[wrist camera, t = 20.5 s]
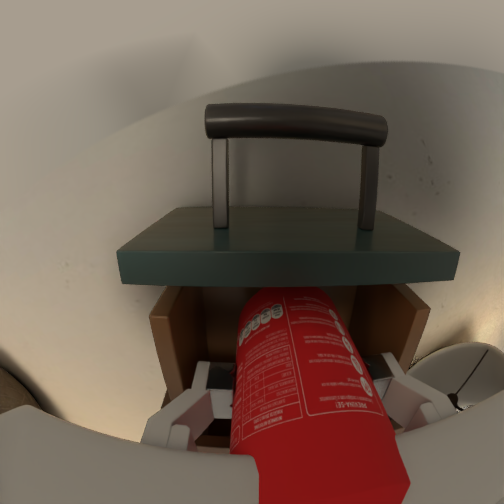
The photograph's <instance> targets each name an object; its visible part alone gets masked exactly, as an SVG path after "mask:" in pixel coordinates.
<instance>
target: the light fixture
mask: <svg viewBox="0 0 504 504" xmlns="http://www.w3.org/2000/svg"><path fill="white" fill-rule="evenodd" d="M406 375H410V376H412V377H413V378H415V379H417V380H419V381H421V382H423V383H425V384H426V385H428V386H430V387H432V388H434V389H436V390H438V391H440V392H442V393H443V394H445V395H447V396H448V398H449V399H450V401H451V403H452V404H453V406H454V407H455V409H456V408H457V409H458V410H460V411H463V410H464V409H462V408H460V407H463V406H469V405H476V404H478V403H480V402H482V401H483V400H485V399H487V398H489V397H491V396H493V395H495V394H496V393H498V392H500V391H502V390H503V389H504V353H503V352H502V351H501V350H499V349H498V348H496V347H494V346H492V345H490V344H486V343H480V342H466V343H459V344H455V345H451V346H448V347H445V348H442V349H440V350H438V351H436V352H433V353H432V354H430V355H428V356H426V357H425V358H423V359H422V360H420V361H419V362H418V363H416V364H415V365H414V366H412V367H411V368H410V369H409V370H408V371H407V373H406Z"/></svg>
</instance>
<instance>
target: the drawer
mask: <svg viewBox="0 0 504 504" xmlns="http://www.w3.org/2000/svg"><path fill="white" fill-rule="evenodd" d="M205 132H206V136H207V138H208V139H212V205H213V207H183V208H176V209H174V210H173V211H171V212H170V213H168V214H167V215H165V216H164V217H163V218H161V219H160V220H158V221H157V222H155V223H154V224H153V225H151V226H150V227H148V228H147V229H146V230H144V231H143V232H141V233H140V234H139V235H137V236H136V237H135V238H133V239H132V240H131V241H129V242H128V243H126V244H125V245H124V246H123V247H121V248H120V249H119V250H117V252H116V253H117V259H118V265H119V271H120V276H121V282H122V284H135V285H160V286H167V287H166V288H165V290H164V291H163V293H162V295H161V296H160V298H159V300H158V301H157V303H156V305H155V306H154V308H153V310H152V311H151V313H150V315H149V319H150V324H151V329H152V333H153V337H154V342H155V346H156V350H157V354H158V358H159V362H160V365H161V369H162V373H163V376H164V380H165V383H166V387H167V390H168V393H169V396H170V400H171V401H173V400H174V399H175V398H177V397H178V396H179V395H180V394H182V393H183V392H184V391H185V390H187V389H191V388H192V384H193V379H194V375H195V371H196V367H197V363H198V362H199V361H206V362H226V363H236V349H237V335H238V322H239V317H240V314H241V312H242V310H243V308H244V306H245V305H246V303H247V302H248V301H249V300H250V299H251V298H252V297H253V296H254V295H255V294H256V293H257V292H258V291H259V290H260V289H261V288H262V287H318V288H319V289H321V290H322V291H324V292H325V293H326V294H327V295H328V296H329V297H330V298H331V300H332V301H333V303H334V305H335V307H336V309H337V311H338V313H339V314H340V316H341V318H342V320H343V322H344V324H345V326H346V328H347V330H348V332H349V334H350V336H351V338H352V340H353V342H354V344H355V346H356V348H357V350H358V352H359V354H360V356H369V355H376V354H381V353H387V352H391V353H392V354H393V356H394V357H395V359H396V361H397V362H398V364H399V365H400V367H401V369H402V370H403V372H404V374H405V375H406V373H407V371H408V368H409V366H410V364H411V362H412V359H413V357H414V354H415V352H416V349H417V347H418V344H419V342H420V339H421V336H422V334H423V331H424V328H425V325H426V322H427V319H428V316H429V313H430V310H431V308H430V307H429V306H428V305H427V304H426V303H425V302H424V301H423V300H422V299H421V298H420V297H419V296H418V295H416V294H415V293H414V292H413V291H412V290H411V289H410V288H409V287H408V286H407V285H406V284H405V283H418V282H434V281H448V280H454V277H455V273H456V269H457V265H458V261H459V256H460V252H459V251H458V250H456V249H454V248H452V247H451V246H449V245H447V244H445V243H443V242H441V241H440V240H438V239H436V238H434V237H432V236H430V235H428V234H427V233H425V232H423V231H421V230H419V229H417V228H415V227H413V226H411V225H409V224H407V223H405V222H403V221H401V220H399V219H397V218H395V217H392V216H390V215H388V214H386V213H384V212H382V211H376V201H377V187H378V169H379V148H380V147H382V146H383V145H384V144H385V142H386V140H387V135H388V126H387V122H386V120H385V118H384V117H383V116H381V115H375V114H370V113H364V112H358V111H351V110H344V109H337V108H329V107H319V106H308V105H295V104H274V103H225V104H209V105H207V106H206V110H205ZM227 138H278V139H300V140H315V141H328V142H338V143H348V144H356V145H364V146H362V160H361V183H360V199H359V210H358V209H337V208H309V207H229V140H228V139H227ZM231 422H232V419H222V418H214V420H213V421H212V422H211V424H210V425H209V426H208V427H207V428H206V429H205V430H204V431H203V433H202V434H201V435H210V436H227V437H231Z"/></svg>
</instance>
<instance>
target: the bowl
mask: <svg viewBox="0 0 504 504" xmlns="http://www.w3.org/2000/svg"><path fill="white" fill-rule="evenodd" d="M23 405H30V406H33V407H35V408H37V409H40V410H41V408H40V406H39V405H38V403H37V402H36V401H35V399H34V398H33V396H32V395H31V394H30V393H29V392H28V391H27V390H26V388H25V387H24V386H22V385H21V384H20V383H19V382H18V381H17V380H16V379H15V378H14V377H13V376H11V375H10V374H9V373H7V372H6V371H5V370H3V369H2V368H0V414H2V413H5V412H7V411H9V410H12V409H14V408H17V407H19V406H23Z"/></svg>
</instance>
